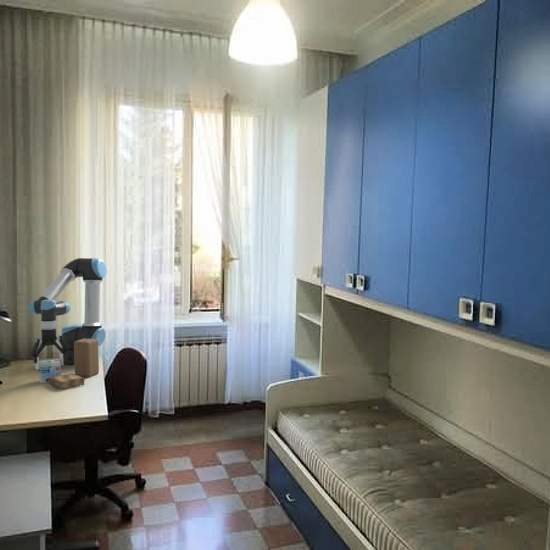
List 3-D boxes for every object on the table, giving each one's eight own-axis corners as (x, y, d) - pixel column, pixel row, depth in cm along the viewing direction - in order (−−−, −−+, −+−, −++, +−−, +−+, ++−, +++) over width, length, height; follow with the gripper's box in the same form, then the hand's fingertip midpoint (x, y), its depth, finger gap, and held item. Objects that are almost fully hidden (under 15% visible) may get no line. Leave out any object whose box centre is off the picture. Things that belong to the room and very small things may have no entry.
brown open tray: (72, 380, 311) (72, 372, 310) (84, 384, 302) (84, 377, 301) (49, 385, 301) (49, 377, 301) (61, 390, 292) (60, 382, 292)
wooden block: (73, 376, 319) (72, 341, 317) (84, 371, 329) (83, 337, 327) (89, 377, 316) (88, 342, 314) (99, 373, 326) (98, 339, 324)
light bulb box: (40, 383, 304) (39, 363, 303) (39, 380, 310) (38, 361, 309) (61, 381, 309) (61, 361, 308) (60, 378, 315) (59, 359, 314)
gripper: (67, 325, 319) (67, 362, 320) (22, 330, 301) (23, 369, 302) (73, 326, 314) (74, 364, 315) (28, 331, 296) (29, 371, 297)
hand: (49, 366), depth 309 cm, fingers open, 13 cm apart
